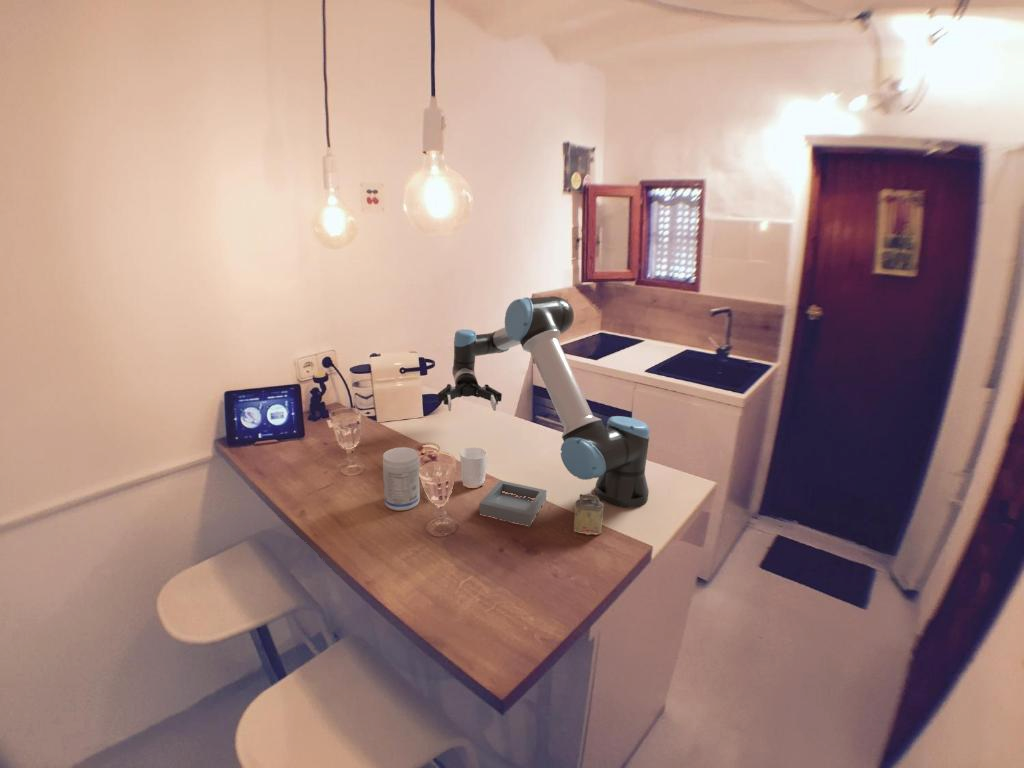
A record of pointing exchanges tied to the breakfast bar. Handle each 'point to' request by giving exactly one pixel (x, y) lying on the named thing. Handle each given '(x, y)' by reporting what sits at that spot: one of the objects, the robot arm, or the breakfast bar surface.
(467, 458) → the white cup
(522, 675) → the breakfast bar surface
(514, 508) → the slate coaster tray
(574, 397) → the robot arm
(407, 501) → the supplement tub
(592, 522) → the lighter
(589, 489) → the breakfast bar surface
